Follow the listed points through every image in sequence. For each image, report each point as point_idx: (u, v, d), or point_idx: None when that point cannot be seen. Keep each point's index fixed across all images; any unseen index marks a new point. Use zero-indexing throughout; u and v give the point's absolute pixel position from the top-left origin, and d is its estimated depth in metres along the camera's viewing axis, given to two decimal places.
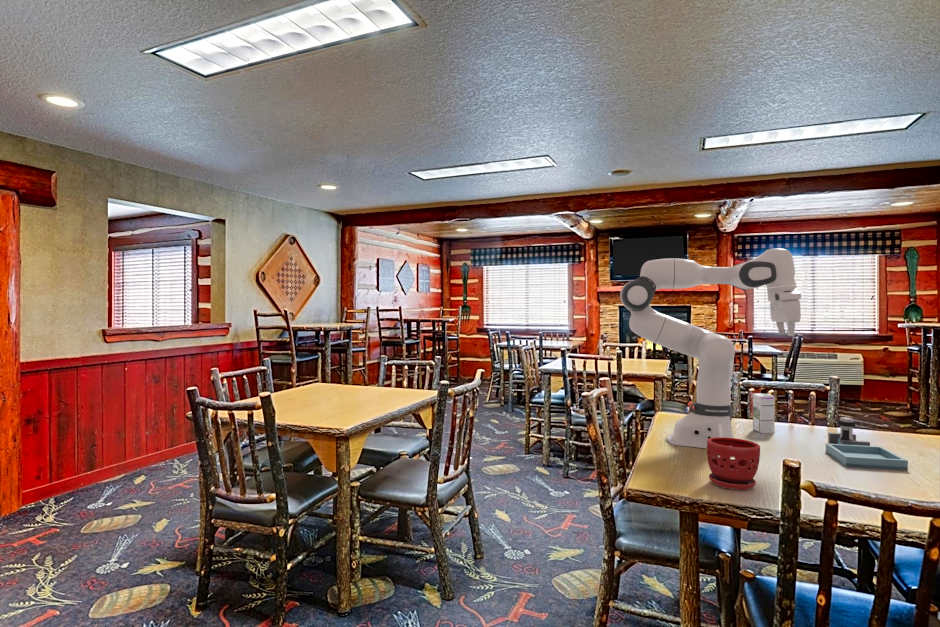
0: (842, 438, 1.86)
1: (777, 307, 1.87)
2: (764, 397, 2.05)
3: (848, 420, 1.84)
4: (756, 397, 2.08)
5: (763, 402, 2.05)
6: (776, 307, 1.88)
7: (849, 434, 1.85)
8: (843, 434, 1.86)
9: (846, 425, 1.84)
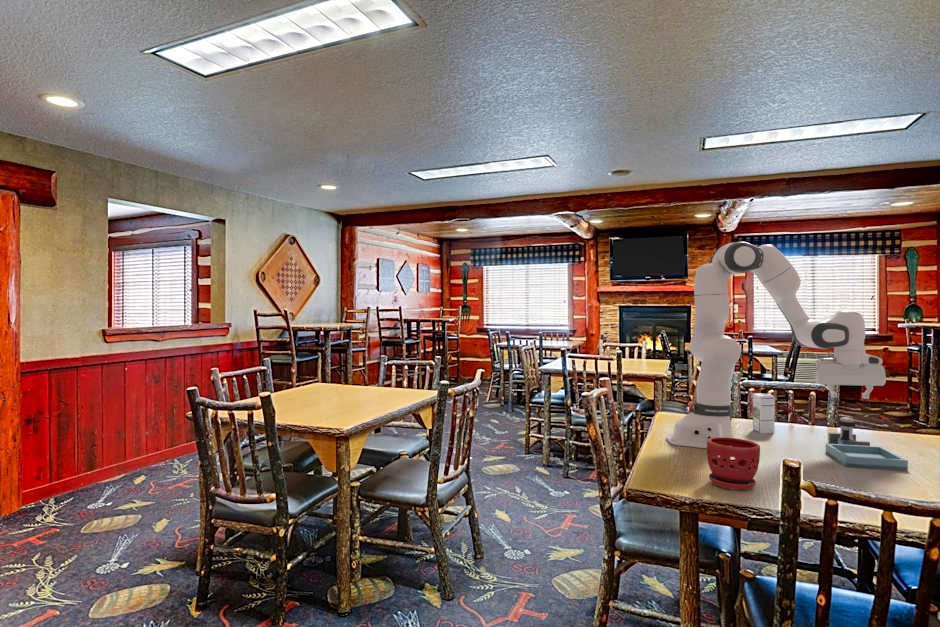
0: (842, 438, 1.86)
1: (846, 370, 1.84)
2: (764, 397, 2.05)
3: (848, 420, 1.84)
4: (756, 397, 2.08)
5: (763, 402, 2.05)
6: (841, 370, 1.84)
7: (849, 434, 1.85)
8: (843, 434, 1.86)
9: (846, 425, 1.84)
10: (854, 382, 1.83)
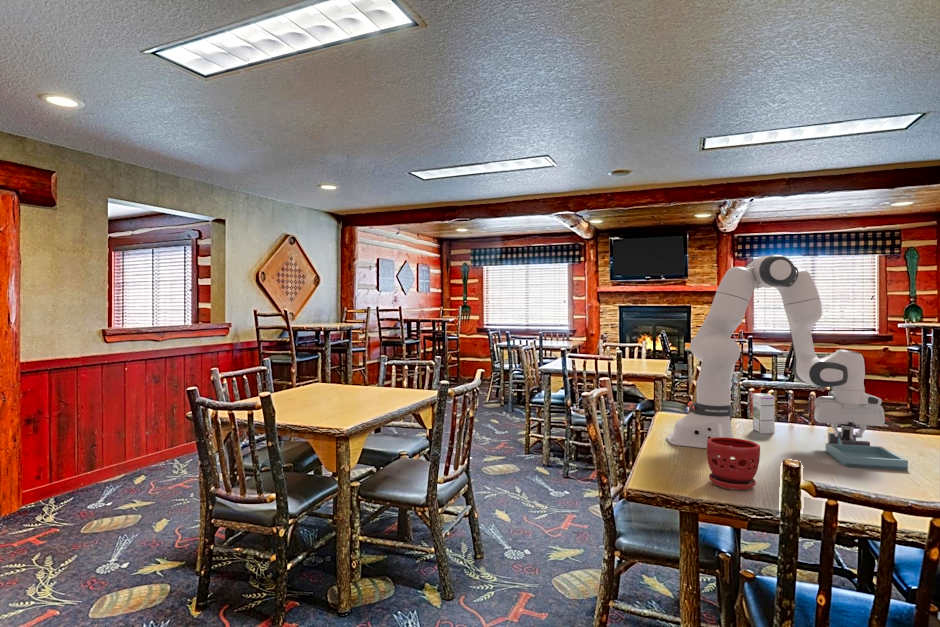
0: (842, 438, 1.86)
1: (845, 409, 1.84)
2: (764, 397, 2.05)
3: None
4: (756, 397, 2.08)
5: (763, 402, 2.05)
6: (840, 409, 1.84)
7: (850, 434, 1.85)
8: (844, 433, 1.86)
9: (847, 425, 1.84)
10: (853, 421, 1.83)
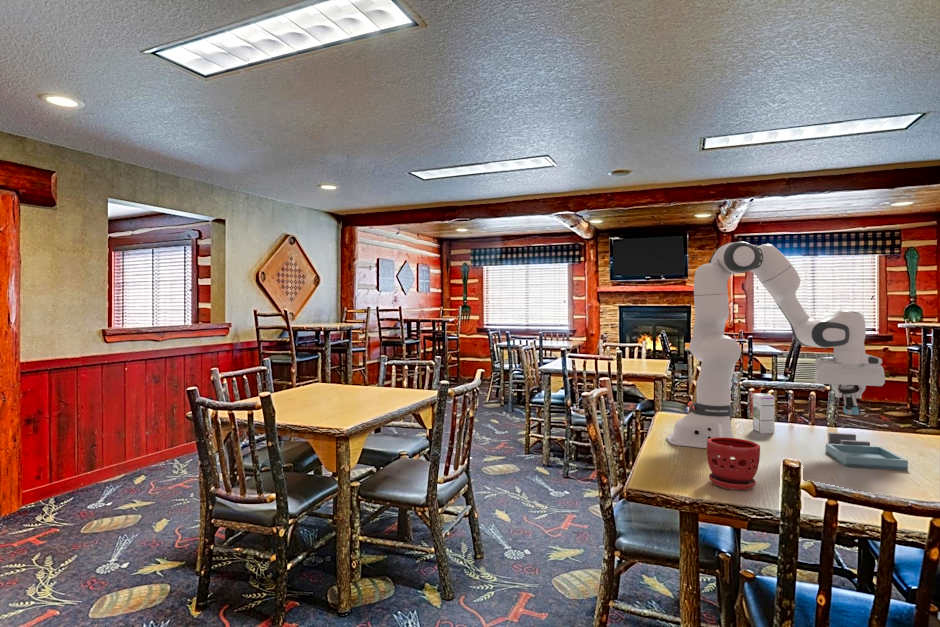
0: (847, 406, 1.85)
1: (846, 370, 1.84)
2: (764, 397, 2.05)
3: (849, 387, 1.84)
4: (756, 397, 2.08)
5: (763, 402, 2.05)
6: (840, 369, 1.84)
7: (853, 401, 1.84)
8: (847, 401, 1.85)
9: (848, 392, 1.84)
10: (853, 382, 1.83)
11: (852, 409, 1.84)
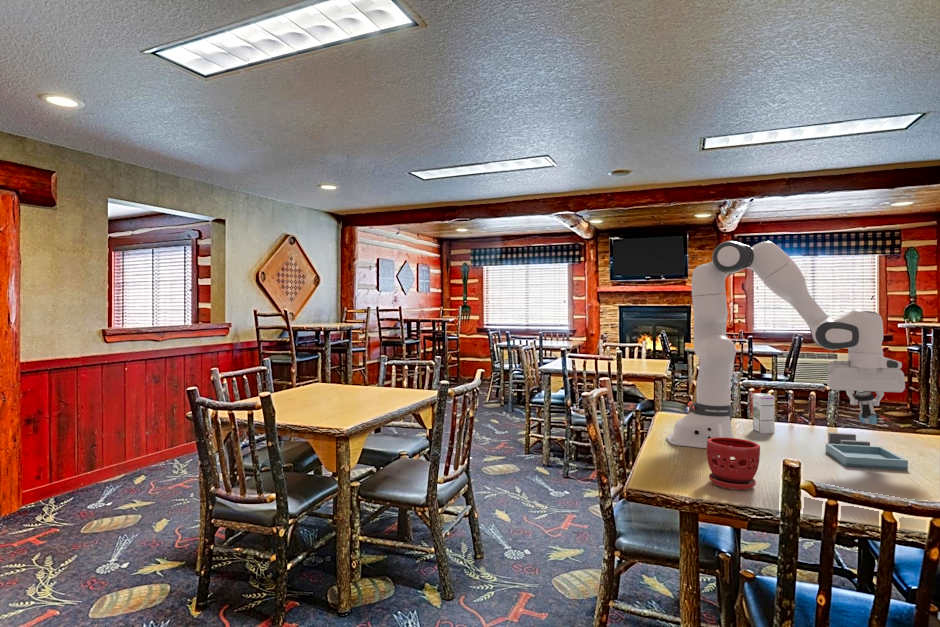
0: (863, 414, 1.69)
1: (862, 374, 1.68)
2: (764, 397, 2.05)
3: (865, 393, 1.68)
4: (756, 397, 2.08)
5: (763, 402, 2.05)
6: (856, 374, 1.68)
7: (870, 408, 1.68)
8: (864, 409, 1.69)
9: (864, 399, 1.68)
10: (870, 388, 1.67)
11: (869, 417, 1.68)
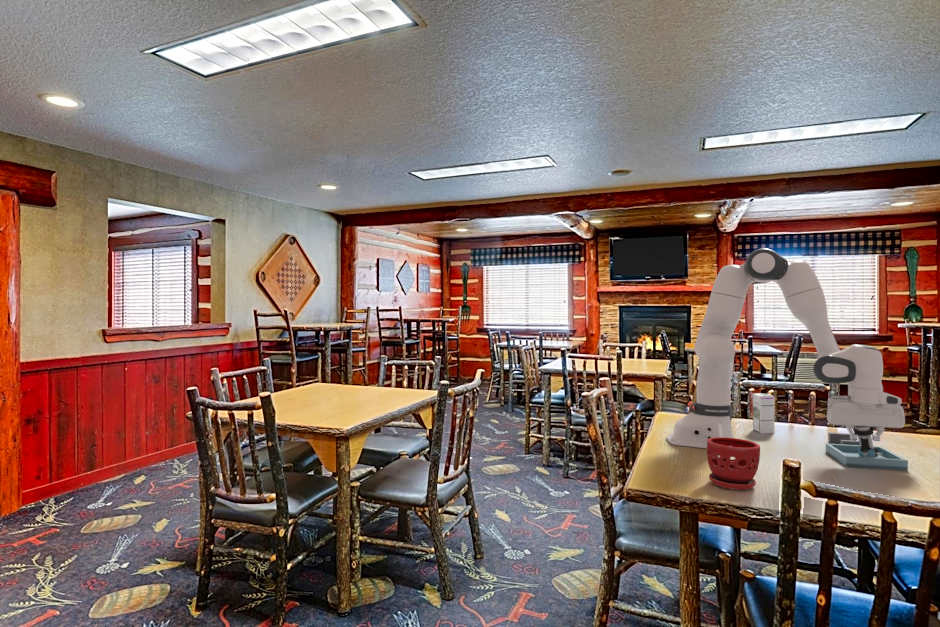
0: (862, 448, 1.69)
1: (862, 410, 1.68)
2: (764, 397, 2.05)
3: (864, 428, 1.68)
4: (756, 397, 2.08)
5: (763, 402, 2.05)
6: (856, 409, 1.68)
7: (869, 443, 1.68)
8: (863, 443, 1.69)
9: (864, 434, 1.68)
10: (870, 423, 1.67)
11: (868, 452, 1.69)
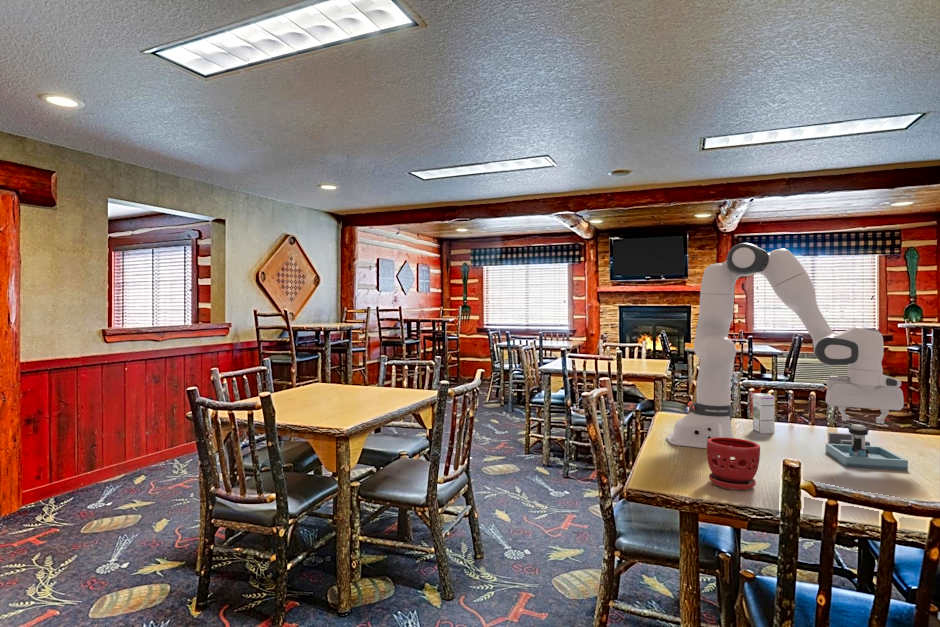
0: (854, 447, 1.70)
1: (861, 391, 1.68)
2: (764, 397, 2.05)
3: (860, 428, 1.68)
4: (756, 397, 2.08)
5: (763, 402, 2.05)
6: (855, 391, 1.68)
7: (861, 443, 1.69)
8: (855, 442, 1.70)
9: (858, 433, 1.68)
10: (868, 405, 1.67)
11: (859, 452, 1.69)
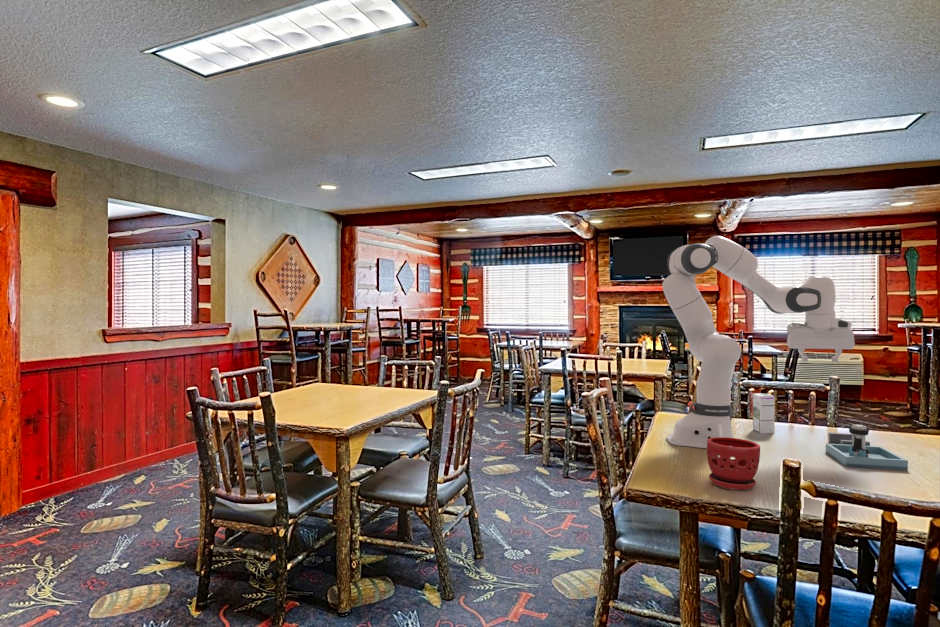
0: (854, 447, 1.70)
1: (817, 334, 1.88)
2: (764, 397, 2.05)
3: (861, 428, 1.68)
4: (756, 397, 2.08)
5: (763, 402, 2.05)
6: (812, 334, 1.89)
7: (862, 443, 1.69)
8: (855, 442, 1.70)
9: (858, 433, 1.68)
10: (824, 346, 1.88)
11: (859, 452, 1.69)
